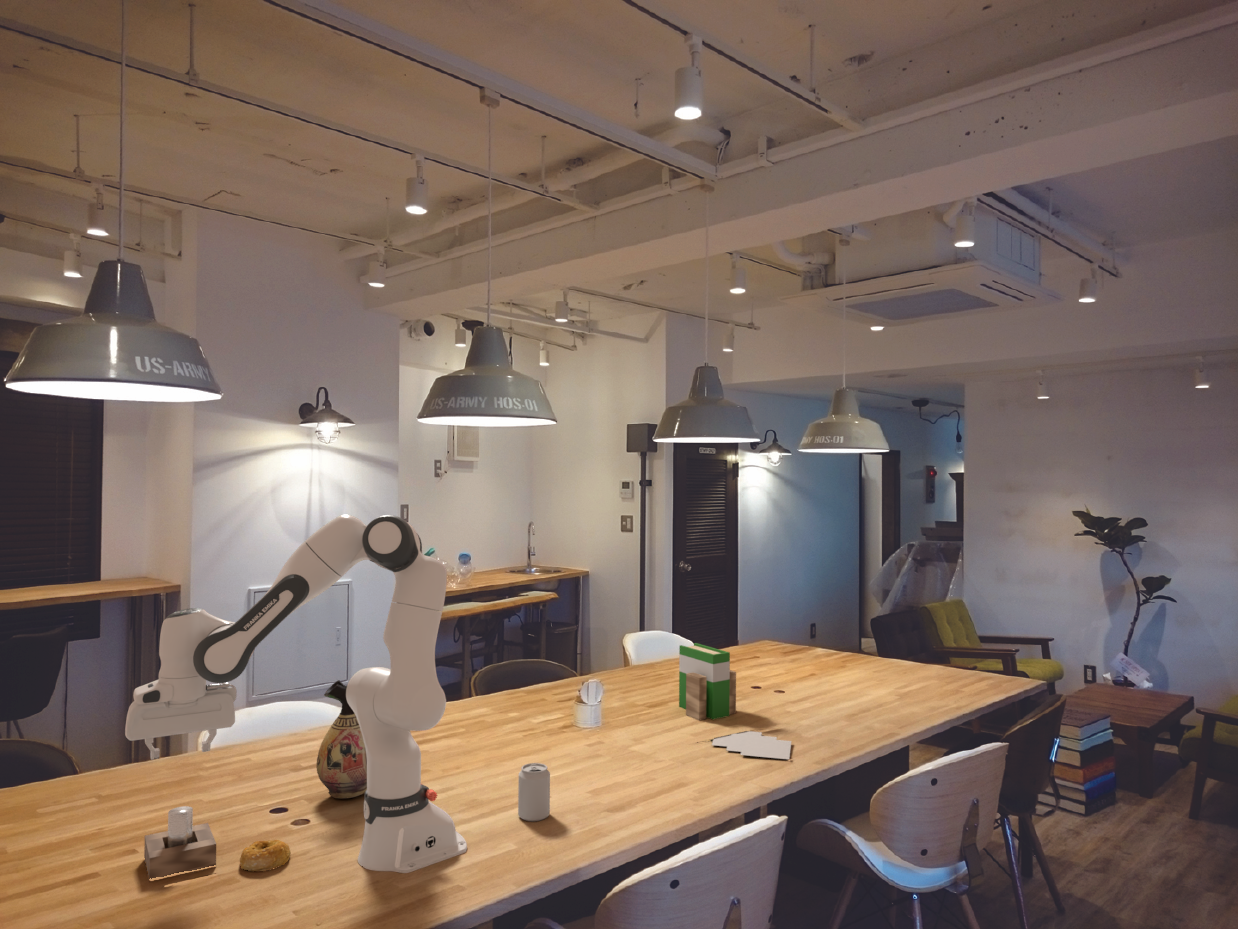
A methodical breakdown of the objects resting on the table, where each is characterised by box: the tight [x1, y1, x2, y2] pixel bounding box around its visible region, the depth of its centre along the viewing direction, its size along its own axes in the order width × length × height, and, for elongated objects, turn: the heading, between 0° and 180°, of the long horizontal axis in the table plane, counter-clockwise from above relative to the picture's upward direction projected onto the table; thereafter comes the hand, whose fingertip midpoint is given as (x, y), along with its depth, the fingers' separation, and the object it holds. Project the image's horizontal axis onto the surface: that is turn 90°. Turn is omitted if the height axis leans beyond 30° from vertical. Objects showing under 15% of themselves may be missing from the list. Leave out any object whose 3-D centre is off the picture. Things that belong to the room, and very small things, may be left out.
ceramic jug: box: [316, 679, 367, 799], centre depth 214 cm, size 17×15×30 cm
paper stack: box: [711, 730, 792, 760], centre depth 256 cm, size 23×25×1 cm
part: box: [167, 805, 194, 848], centre depth 175 cm, size 4×4×10 cm
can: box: [517, 762, 551, 822], centre depth 200 cm, size 8×8×12 cm
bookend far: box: [729, 669, 737, 715], centre depth 289 cm, size 3×7×14 cm, turn 33°
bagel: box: [239, 839, 292, 872], centre depth 176 cm, size 10×11×5 cm
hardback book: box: [678, 642, 731, 720], centre depth 289 cm, size 18×7×24 cm, turn 35°
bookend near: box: [685, 672, 707, 721], centre depth 282 cm, size 3×7×14 cm, turn 34°
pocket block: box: [143, 822, 217, 880], centre depth 175 cm, size 12×12×5 cm
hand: (180, 754), depth 175 cm, fingers open, 8 cm apart
